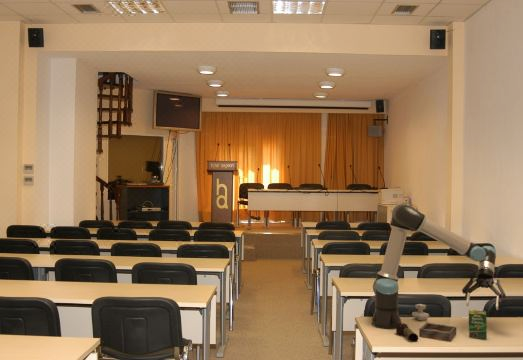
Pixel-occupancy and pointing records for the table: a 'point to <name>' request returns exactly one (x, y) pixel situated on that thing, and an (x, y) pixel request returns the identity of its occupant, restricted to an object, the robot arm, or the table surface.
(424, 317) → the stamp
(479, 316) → the coffee box
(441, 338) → the gray square frame
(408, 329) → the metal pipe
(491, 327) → the table surface
